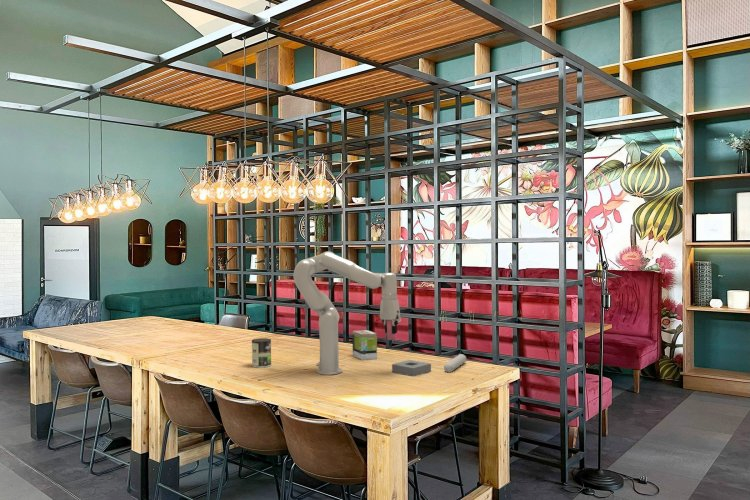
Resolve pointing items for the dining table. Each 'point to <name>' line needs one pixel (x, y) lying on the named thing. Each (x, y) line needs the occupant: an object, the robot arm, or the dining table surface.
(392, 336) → the peg
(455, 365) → the tube
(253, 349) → the coffee can
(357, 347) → the tea box
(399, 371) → the socket block
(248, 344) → the dining table surface
